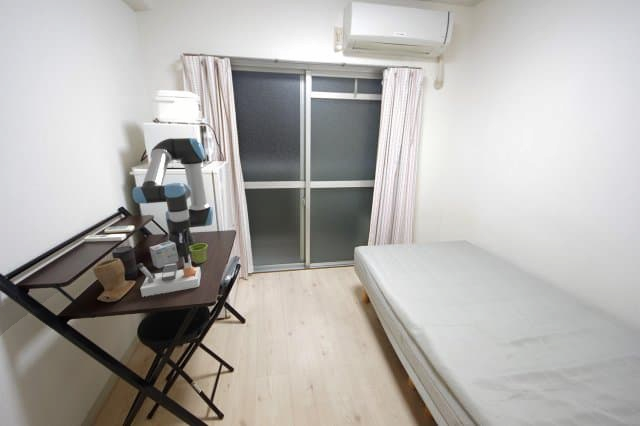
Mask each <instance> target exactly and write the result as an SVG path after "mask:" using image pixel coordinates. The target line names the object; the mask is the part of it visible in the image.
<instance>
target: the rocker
mask: <svg viewBox="0 0 640 426" xmlns="http://www.w3.org/2000/svg"><path fill="white" fill-rule="evenodd" d="M162 269H163V270H162V273H163V274H162V281H168V280H174V279H176V273H177V270H178V261H177V262H172V263H165V264H164V267H163V268H162Z"/></svg>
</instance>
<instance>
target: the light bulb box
mask: <svg viewBox="0 0 640 426" xmlns="http://www.w3.org/2000/svg"><path fill="white" fill-rule="evenodd" d="M177 249H178V248H177ZM177 249H176V244H175V243H174V242H171V241H168V240H166V241H165V242H161V243H159V244H156V245H153V246H149V252H150V255H151V260H152V264H153V266H154V267H155V268H157V269H158V270H159V269H161V268H164V264H165V263H172V262H177V263H178V262H179V255H178V250H177Z"/></svg>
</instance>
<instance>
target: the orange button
mask: <svg viewBox="0 0 640 426" xmlns="http://www.w3.org/2000/svg"><path fill="white" fill-rule="evenodd" d="M191 266H192V265H191ZM194 268H195V267H194V266H192V267H191V268H189V269H185V267H183V268H182V269H183V272H184V278H185V277H191V276H195V273H194Z"/></svg>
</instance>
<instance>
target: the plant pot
mask: <svg viewBox="0 0 640 426" xmlns="http://www.w3.org/2000/svg"><path fill="white" fill-rule="evenodd" d="M207 248H208V244H207V243H202V242H200V243H199V242H198V243H193V244H192V245H190V246H189V249H190V250H189V252H190V251H191V253H190V256H191V257H192V261H193V263H194V264H196V265H198V264H201V263H205V262H206V261H207Z"/></svg>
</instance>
